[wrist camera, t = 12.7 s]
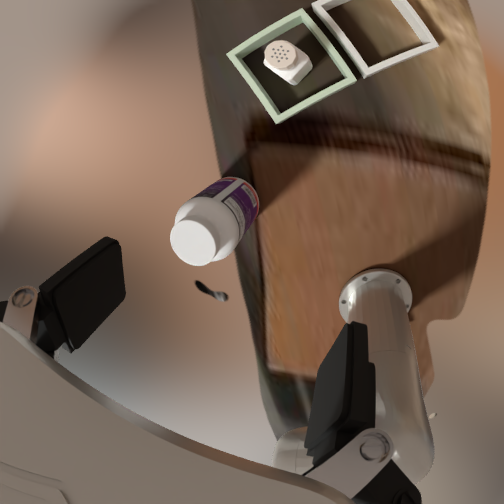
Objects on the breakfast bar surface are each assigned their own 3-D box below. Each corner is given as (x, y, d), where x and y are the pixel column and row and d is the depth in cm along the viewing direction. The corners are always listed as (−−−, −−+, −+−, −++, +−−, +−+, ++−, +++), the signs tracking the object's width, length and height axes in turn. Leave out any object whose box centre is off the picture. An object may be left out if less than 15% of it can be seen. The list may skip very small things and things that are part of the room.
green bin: (355, 83, 29) (356, 80, 26) (280, 123, 34) (276, 124, 32) (304, 15, 26) (302, 8, 23) (233, 57, 31) (226, 54, 28)
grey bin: (432, 50, 23) (439, 46, 20) (363, 78, 28) (366, 75, 26) (381, -17, 19) (384, -25, 17) (313, 11, 25) (311, 3, 22)
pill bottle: (204, 213, 44) (155, 256, 32) (218, 167, 40) (166, 196, 27) (250, 234, 43) (215, 287, 31) (269, 188, 39) (236, 228, 27)
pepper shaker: (272, 69, 31) (252, 57, 23) (290, 48, 29) (276, 29, 21) (295, 87, 31) (283, 79, 23) (315, 66, 29) (308, 51, 21)
